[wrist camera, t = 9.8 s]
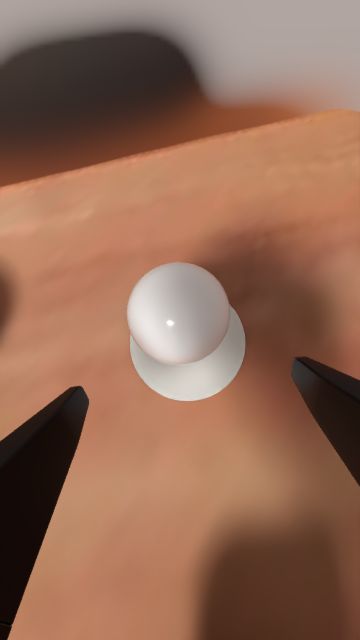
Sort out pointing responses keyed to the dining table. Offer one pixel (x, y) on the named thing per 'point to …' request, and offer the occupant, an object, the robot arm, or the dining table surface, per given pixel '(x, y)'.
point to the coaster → (195, 368)
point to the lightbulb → (178, 313)
